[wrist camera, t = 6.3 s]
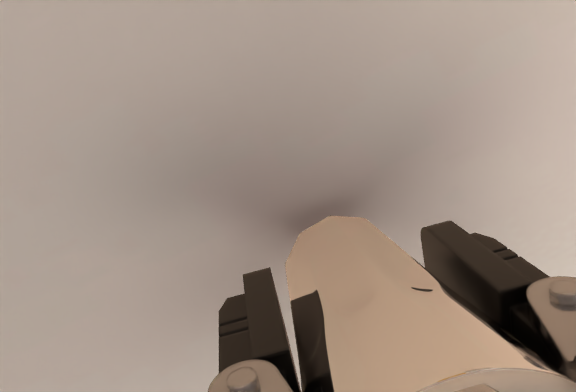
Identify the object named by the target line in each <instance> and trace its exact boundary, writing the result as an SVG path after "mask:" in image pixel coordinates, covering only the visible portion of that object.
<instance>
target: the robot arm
mask: <svg viewBox="0 0 576 392" xmlns="http://www.w3.org/2000/svg"><path fill="white" fill-rule="evenodd" d="M421 242H422V249H423V257H424V264H425V268H426V269H427V270H428V271H429V272H430V273H432V274H433V275H434V276H435V277H437V278H438V279H439V280H440V281H442V282H443V283H444V284H445V285H447V286H448V287H449V288H451V289H452V290H453V291H455V292H456V293H457V294H459V295H460V296H461V297H463V298H464V299H466V300H467V301H468V302H470V303H471V304H473V305H474V306H476V307H477V308H478V309H480V310H481V311H483V312H484V313H485V314H487V315H488V316H489V317H491V318H492V319H493V320H495V321H496V322H498V323H499V324H500V325H502V326H503V327H504V328H506V329H507V330H508V331H510V332H511V333H512V334H514V335H515V336H516V337H518V338H519V339H520V340H522V341H523V342H524V343H526V344H527V345H528V346H530V347H531V348H532V349H534V350H535V351H536V352H538V353H539V354H540V355H541V356H543V357H544V358H545V359H547V360H548V361H549V362H551V363H552V364H553V365H555V366H556V367H557V368H559V369H560V370H561V371H563V372H564V373H565V374H567V375H568V376H569V377H571V378H572V379H573V380H574V381H576V278H575V277H565V276H558V277H549V276H548V275H546V274H545V273H543V272H542V271H541V270H539V269H538V268H536V267H535V266H533V265H532V264H530V263H529V262H527V261H526V260H525V259H523V258H522V257H518V255H517V254H516V253H514V252H513V251H511V250H510V249H507V247H506V246H504V245H503V244H501V243H500V242H498V241H497V240H496V239H494V238H491V237H488V236H484V235H481V234H478V233H473V234H469V233H467V232H466V231H465V230H463V229H462V228H461V227H459V226H458V225H456V224H455V223H454V222H452V221H446V222H442V223H438V224H435V225H431V226H427V227H423V228H422V229H421ZM243 282H244V291H245V294H241V295H238V296H234V297H230V298H227V299H226V301H225V302H224V304H223V306H222V307H221V309H220V310H219V374H218V375H217V376H216V377H215V378H214V380H213V381H212V382H211V384H210V386H209V388H208V392H301V390H300V386H299V382H298V377H297V373H296V369H295V365H294V361H293V357H292V352H291V348H290V344H289V340H288V336H287V332H286V328H285V324H284V320H283V316H282V312H281V308H280V304H279V300H278V297H277V293H276V289H275V285H274V281H273V277H272V273H271V269H270V267H269V268H266V269H262V270H258V271H254V272H250V273H247V274H243Z"/></svg>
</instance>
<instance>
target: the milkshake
mask: <svg viewBox="0 0 576 392" xmlns="http://www.w3.org/2000/svg"><path fill="white" fill-rule="evenodd" d="M285 270H286V277H287V284H288V290H289V297H290V304H291V310H292V317H293V324H294V331H295V337H296V344H297V351H298V358H299V366H300V374H301V384H302V392H576V381H574V380H573V379H572V378H571V377H569V376H568V375H567V374H565V373H564V372H563V371H561V370H560V369H559V368H557V367H556V366H555V365H553V364H552V363H551V362H549V361H548V360H547V359H545V358H544V357H543V356H541V355H540V354H539V353H538V352H536V351H535V350H534V349H532V348H531V347H530V346H528V345H527V344H526V343H524V342H523V341H522V340H520V339H519V338H518V337H516V336H515V335H514V334H512V333H511V332H510V331H508V330H507V329H506V328H504V327H503V326H502V325H500V324H499V323H498V322H496V321H495V320H493V319H492V318H491V317H489V316H488V315H487V314H485V313H484V312H483V311H481V310H480V309H478V308H477V307H476V306H474V305H473V304H471V303H470V302H468V301H467V300H466V299H464V298H463V297H461V296H460V295H459V294H457V293H456V292H455V291H453V290H452V289H451V288H449V287H448V286H447V285H445V284H444V283H443V282H442V281H440V280H439V279H438V278H437V277H435V276H434V275H433V274H432V273H430V272H429V271H428V270H427V269H426V268H424V267H423V266H422V265H421V264H420V263H418V262H417V261H416V260H415V259H414V258H412V257H411V256H410V255H409V254H408V253H406V252H405V251H404V250H403V249H402V248H400V247H399V246H398V245H397V244H396V243H394V242H393V241H392V240H391V239H390V238H388V237H387V236H386V235H385V234H384V233H382V232H381V231H380V230H379V229H378V228H376V227H375V226H374V225H373V224H372V223H371V222H369V221H368V220H367V219H365V218H362V217H345V216H331V215H330V216H328V217H327V218H325V219H323V220H321V221H320V222H318V223H316V224H315V225H313V226H311V227H309V228H308V229H306V230H304V231H303V232H301V233H299V235H298V237H297V240H296V242H295V244H294V246H293V248H292V250H291V252H290V254H289V256H288V258H287V260H286V262H285Z"/></svg>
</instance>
